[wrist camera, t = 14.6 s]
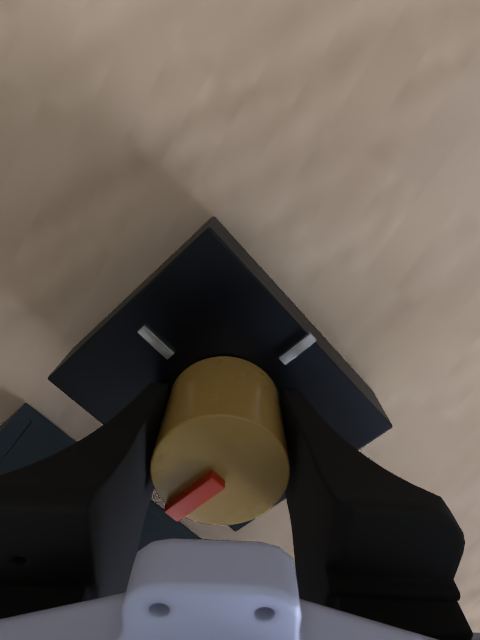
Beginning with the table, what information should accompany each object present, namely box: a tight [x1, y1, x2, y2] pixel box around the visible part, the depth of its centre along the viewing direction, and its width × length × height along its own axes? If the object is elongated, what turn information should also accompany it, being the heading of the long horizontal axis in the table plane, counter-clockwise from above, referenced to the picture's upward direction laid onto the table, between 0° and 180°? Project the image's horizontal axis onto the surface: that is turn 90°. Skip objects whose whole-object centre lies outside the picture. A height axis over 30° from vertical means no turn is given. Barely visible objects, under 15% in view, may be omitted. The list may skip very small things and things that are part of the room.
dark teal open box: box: [0, 403, 201, 552], centre depth 19 cm, size 13×11×5 cm
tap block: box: [48, 217, 392, 531], centre depth 16 cm, size 10×8×3 cm
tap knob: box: [150, 356, 290, 525], centre depth 13 cm, size 4×4×4 cm
